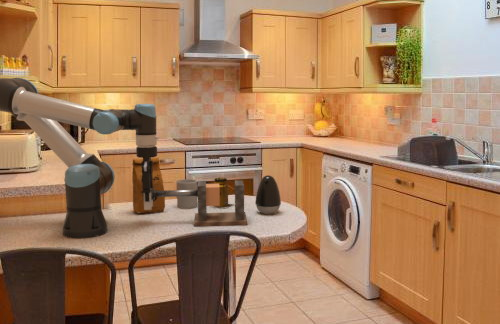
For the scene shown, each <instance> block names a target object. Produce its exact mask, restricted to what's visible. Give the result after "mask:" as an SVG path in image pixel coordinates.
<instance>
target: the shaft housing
mask: <svg viewBox="0 0 500 324" xmlns="http://www.w3.org/2000/svg"><path fill="white" fill-rule="evenodd" d="M206 184H207V180H201V181H199V180H198V181H197V190H198V196H197V202H198V206H197V212H195V213H194V220H193V227H195V228H196V227H223V226H224V227H225V226H227V227H228V226H232V227H233V226H248V218H247V215H246V211H245V184H244V180H234V212H233V211H231V212H226V211H225V212H207V210H208V209H207V207H208V206H206Z"/></svg>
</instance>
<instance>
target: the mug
mask: <svg viewBox="0 0 500 324" xmlns="http://www.w3.org/2000/svg"><path fill="white" fill-rule="evenodd" d="M197 186H198V181H197V179H191V178H189V179H188V178H185V179H179V180H176V190H198V187H197ZM176 202H177V204H176V205H177V208H179V209H185V210H188V209H195V208H198V196H182V197H176Z"/></svg>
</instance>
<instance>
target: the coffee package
mask: <svg viewBox="0 0 500 324" xmlns="http://www.w3.org/2000/svg"><path fill="white" fill-rule="evenodd" d="M159 159H160V157H151V161H153V186H152V187H154V189H155V191H163V190H165V187H164V181H163V175H162V172H161V166H160V160H159ZM142 161H143V158H136V159H134V158H133V159H132V176H131V177H132V207H133V208H132V209H133V211H134V212H135V213H137V214H138V213H139V214H149V213H158V212H164V211H165V207H166V197H155V199H154V200H153V207H152V210H144V200H143V193H141V191H143V182H142V168H141V162H142Z"/></svg>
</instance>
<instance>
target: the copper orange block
mask: <svg viewBox="0 0 500 324" xmlns="http://www.w3.org/2000/svg"><path fill="white" fill-rule="evenodd" d="M213 184H219V188H220V206H210V207H211V208H216V209H227V208H229V207H231V206H235V203H229V184H228V179H227V178H226V177H216V178H214V182H213Z"/></svg>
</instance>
